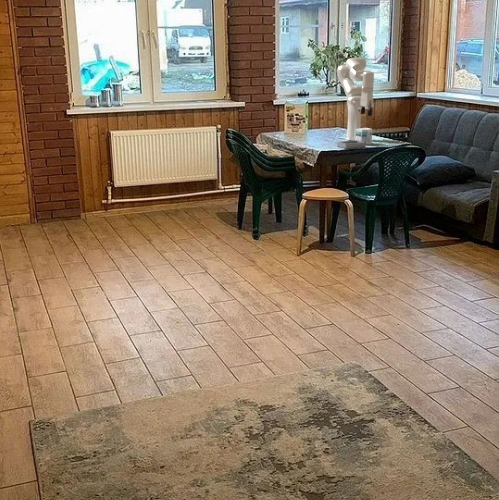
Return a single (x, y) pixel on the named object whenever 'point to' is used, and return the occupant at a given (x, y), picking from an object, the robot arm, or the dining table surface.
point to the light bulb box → (364, 135)
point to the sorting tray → (351, 144)
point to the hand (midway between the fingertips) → (366, 114)
